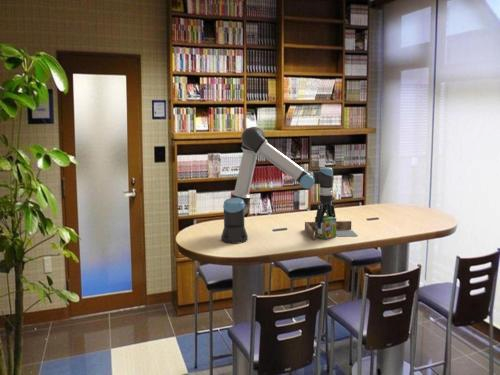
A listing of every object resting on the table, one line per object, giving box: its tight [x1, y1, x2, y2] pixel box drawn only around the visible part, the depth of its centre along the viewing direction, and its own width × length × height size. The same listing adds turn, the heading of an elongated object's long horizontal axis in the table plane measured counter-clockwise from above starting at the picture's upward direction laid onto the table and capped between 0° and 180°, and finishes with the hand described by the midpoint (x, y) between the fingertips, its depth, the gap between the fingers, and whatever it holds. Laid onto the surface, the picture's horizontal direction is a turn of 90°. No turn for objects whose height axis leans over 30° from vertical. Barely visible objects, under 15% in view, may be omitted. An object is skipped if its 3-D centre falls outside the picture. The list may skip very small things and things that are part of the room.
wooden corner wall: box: [304, 220, 352, 241], centre depth 273 cm, size 29×22×5 cm
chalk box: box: [314, 211, 337, 240], centre depth 267 cm, size 9×9×15 cm
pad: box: [336, 230, 358, 238], centre depth 274 cm, size 12×12×1 cm
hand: (325, 231), depth 268 cm, fingers closed on chalk box, 10 cm apart
